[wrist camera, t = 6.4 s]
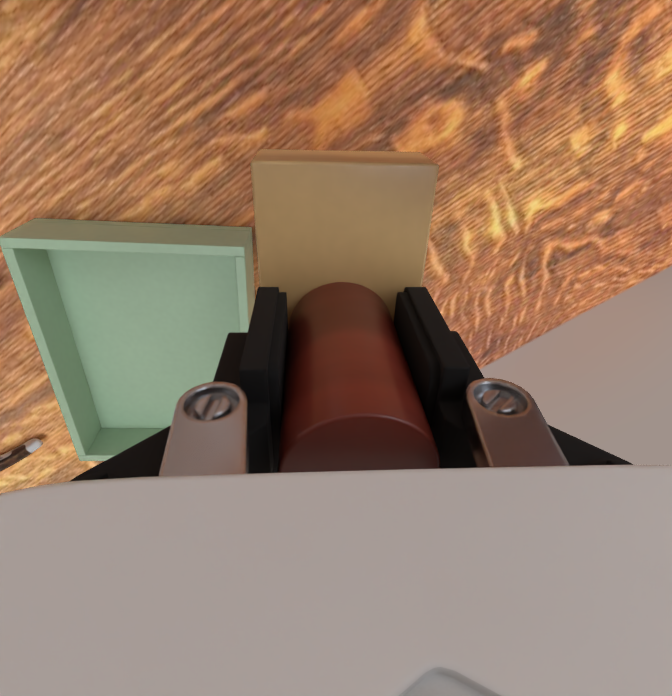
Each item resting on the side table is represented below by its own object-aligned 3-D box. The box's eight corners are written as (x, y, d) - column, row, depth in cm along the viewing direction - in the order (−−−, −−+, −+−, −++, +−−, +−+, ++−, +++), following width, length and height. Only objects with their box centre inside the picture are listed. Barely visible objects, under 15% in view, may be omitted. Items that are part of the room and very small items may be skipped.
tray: (34, 217, 26) (-4, 237, 23) (251, 226, 27) (244, 246, 24) (100, 426, 35) (79, 461, 32) (260, 427, 37) (256, 461, 33)
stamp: (262, 142, 13) (198, 232, 5) (412, 145, 13) (550, 235, 6) (276, 386, 17) (254, 611, 10) (386, 385, 18) (442, 602, 10)
